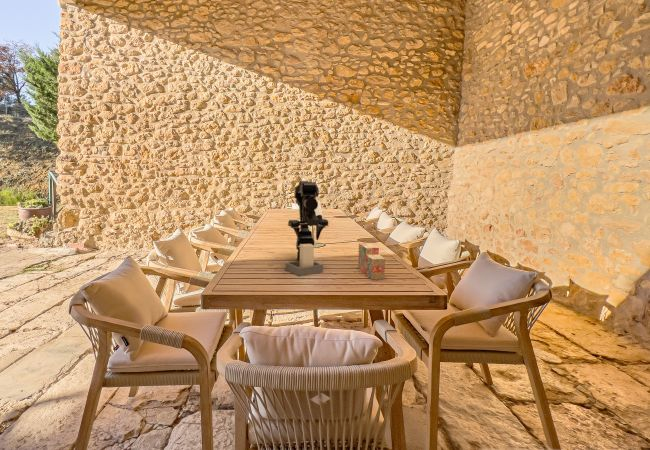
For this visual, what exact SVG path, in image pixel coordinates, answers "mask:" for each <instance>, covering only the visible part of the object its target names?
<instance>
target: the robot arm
mask: <svg viewBox="0 0 650 450" xmlns="http://www.w3.org/2000/svg"><path fill="white" fill-rule="evenodd" d="M319 195H320V191H319V187H318V185H317V183H316V182H315V181H311V182H310V181H307V180H301V181H298V185H297V186H296V187H295V188H294V196H293V197H294V199H295V203H296V204H297V206H298V207H299V208H298V210H299V211H298V213H299V220H298V219H289V220H288V222H287V226H288V227H290V228H291V229H293V231H294V233H295V235H296V237H297V238H296V242H295V243H296V244H295V248H296V250H297V253H296V254H297V255H296V256H297V257H296V259H295V260H296V261H300V244H312V245H314V246H315V240H316V241H319V239H320V236H321V233H322V231H323V229H324V228H326V227H328V226H329V220H328V219H326V218H323V215H322V214H318V215H317V214H316V211H315V210H317V209H318V206H319V203H318V200H317V199H316V198H319ZM312 226H315V238H316V239H314V237H313V232H312V230H310V229H309V227H312Z"/></svg>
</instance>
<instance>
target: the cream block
mask: <svg viewBox="0 0 650 450" xmlns="http://www.w3.org/2000/svg"><path fill="white" fill-rule="evenodd" d="M314 248H315V244H314V245H312V244H300V268H303V267H309V266H314V262H315V260H314V259H315V258H314V252H315V251H314V250H315V249H314Z"/></svg>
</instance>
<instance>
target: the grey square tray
mask: <svg viewBox="0 0 650 450" xmlns="http://www.w3.org/2000/svg"><path fill="white" fill-rule="evenodd" d="M284 264H285V271H287V272H289V273H292V274H294V275H295V276H296V275H297V276H298V277H303V276H309V275H313V274H315V275H316V274H319V273H320V274H321V273H324V265H323V264H322V263H318V262H316V261H314V266H309V267H303V268H300V261H299V260H296V261H295V260H294V261H290V262H289V261H288V262H285V263H284Z"/></svg>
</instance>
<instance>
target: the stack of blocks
mask: <svg viewBox="0 0 650 450" xmlns="http://www.w3.org/2000/svg"><path fill="white" fill-rule="evenodd" d="M357 265H358V266H357V267H358V268H359V270H360V271H361V272H363V273H364V274H365V275H366V276H367V277H368V278H369V279H370V280H384V279H385V269H386V267H385V265H386V258H385V257H383V256H382V255H381V254H379V247H378V246H376V245H375V244H374V243H372V242H365V243H362V242H360V243H358V264H357Z"/></svg>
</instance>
